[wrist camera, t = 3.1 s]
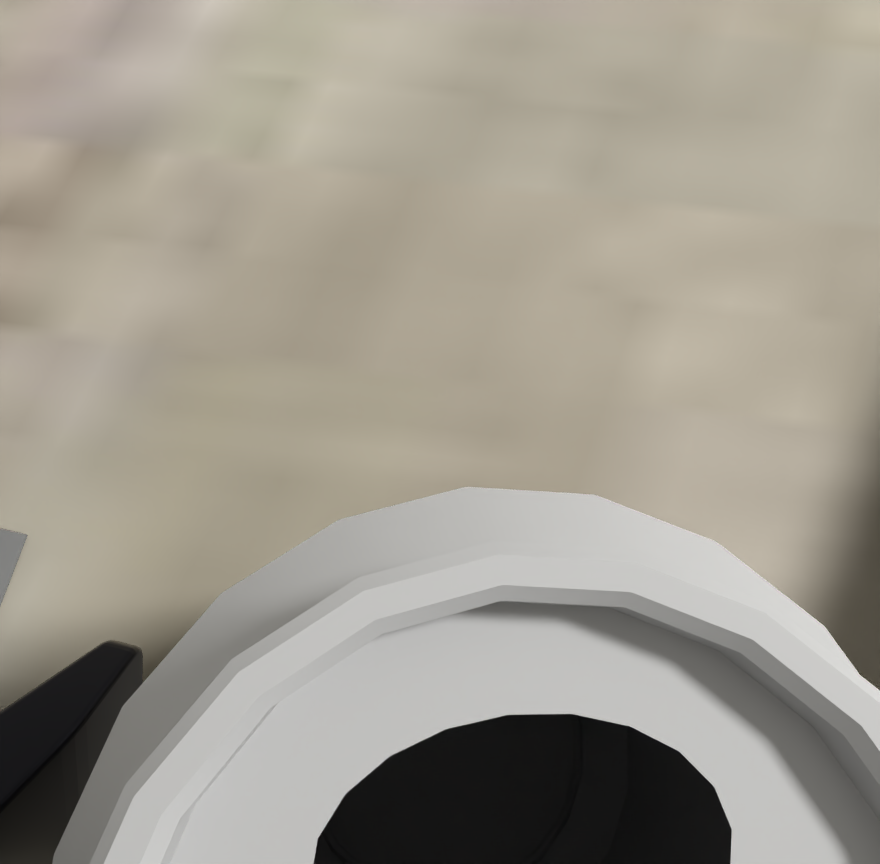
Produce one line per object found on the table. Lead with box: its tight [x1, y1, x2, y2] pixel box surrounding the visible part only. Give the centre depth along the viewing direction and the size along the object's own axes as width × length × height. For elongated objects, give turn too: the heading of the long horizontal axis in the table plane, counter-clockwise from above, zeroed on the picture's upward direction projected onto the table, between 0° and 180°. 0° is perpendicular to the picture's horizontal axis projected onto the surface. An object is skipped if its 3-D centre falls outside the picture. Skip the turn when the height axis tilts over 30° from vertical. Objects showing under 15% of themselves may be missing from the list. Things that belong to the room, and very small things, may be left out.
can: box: [52, 487, 880, 864], centre depth 10 cm, size 8×8×12 cm
